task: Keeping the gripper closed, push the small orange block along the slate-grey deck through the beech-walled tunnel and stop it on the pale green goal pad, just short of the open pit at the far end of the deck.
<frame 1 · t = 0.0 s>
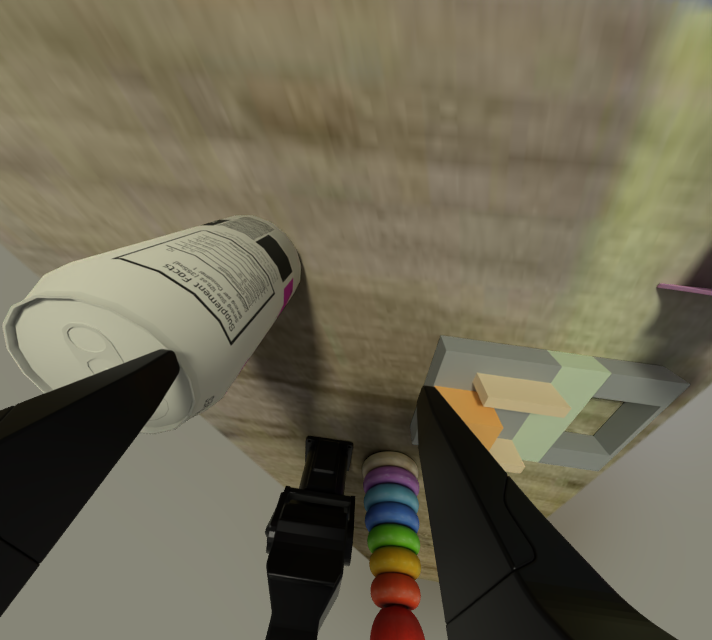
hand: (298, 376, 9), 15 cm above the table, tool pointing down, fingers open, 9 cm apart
stacking toy: (389, 463, 37), on the table
tunnel board: (520, 400, 29), on the table
supplement can: (259, 261, 23), on the table, touching gripper
block: (452, 407, 26), point 2 cm above the table, touching tunnel board
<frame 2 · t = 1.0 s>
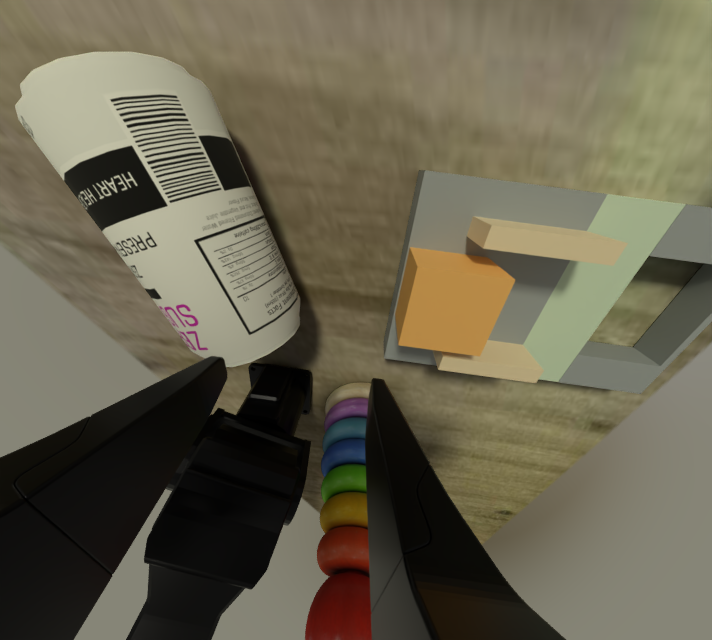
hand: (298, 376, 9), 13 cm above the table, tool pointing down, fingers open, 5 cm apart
stacking toy: (361, 403, 29), on the table
tunnel board: (535, 289, 20), on the table
supplement can: (115, 86, 12), point 4 cm above the table
block: (437, 288, 18), point 2 cm above the table, touching tunnel board
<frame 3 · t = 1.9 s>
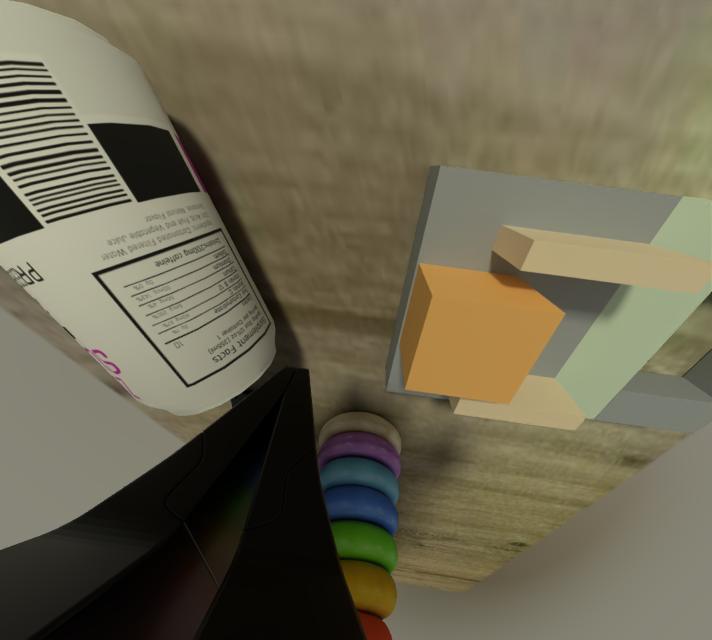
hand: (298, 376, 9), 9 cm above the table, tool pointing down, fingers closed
stacking toy: (360, 432, 25), on the table
tunnel board: (569, 310, 17), on the table
supplement can: (2, 56, 9), point 4 cm above the table
block: (452, 312, 15), point 2 cm above the table, touching tunnel board
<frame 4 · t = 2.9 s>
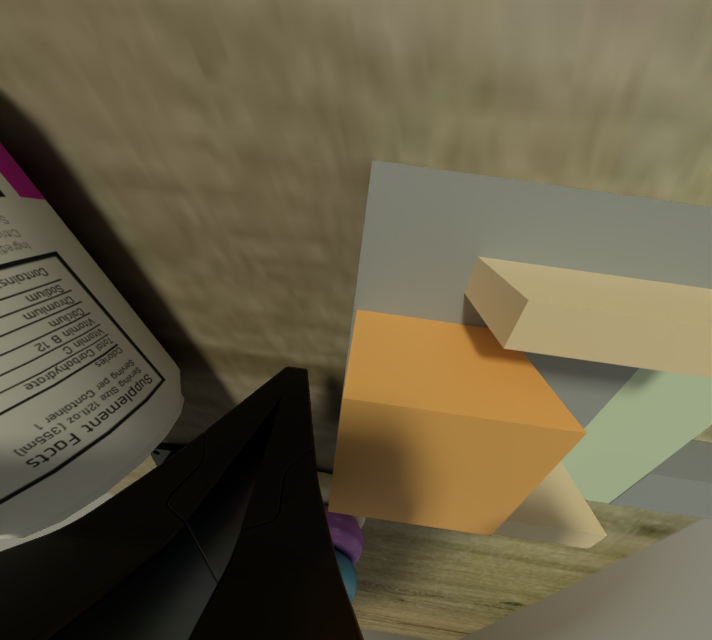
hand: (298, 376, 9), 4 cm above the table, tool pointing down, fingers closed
stacking toy: (318, 490, 21), on the table
tunnel board: (577, 363, 12), on the table
block: (413, 375, 10), point 3 cm above the table, touching gripper, tunnel board
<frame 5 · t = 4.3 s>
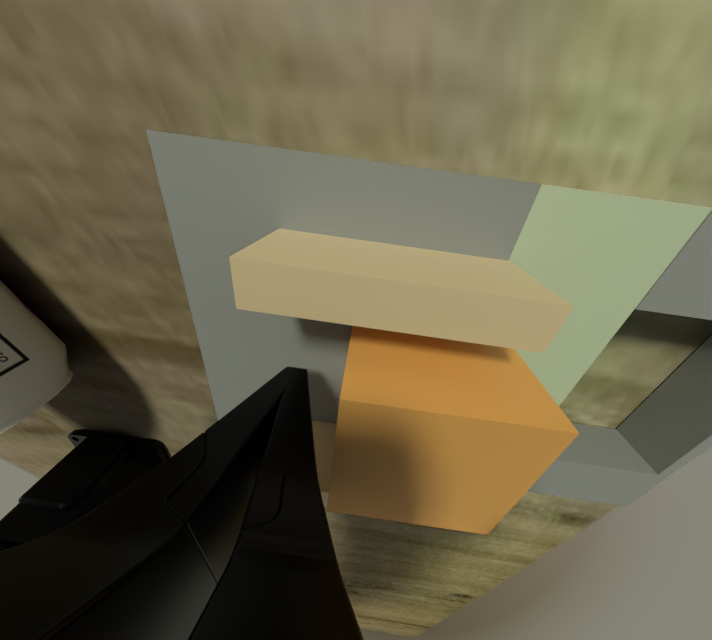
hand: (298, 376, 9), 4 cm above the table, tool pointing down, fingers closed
tunnel board: (452, 345, 12), on the table
block: (411, 376, 10), point 3 cm above the table, touching gripper
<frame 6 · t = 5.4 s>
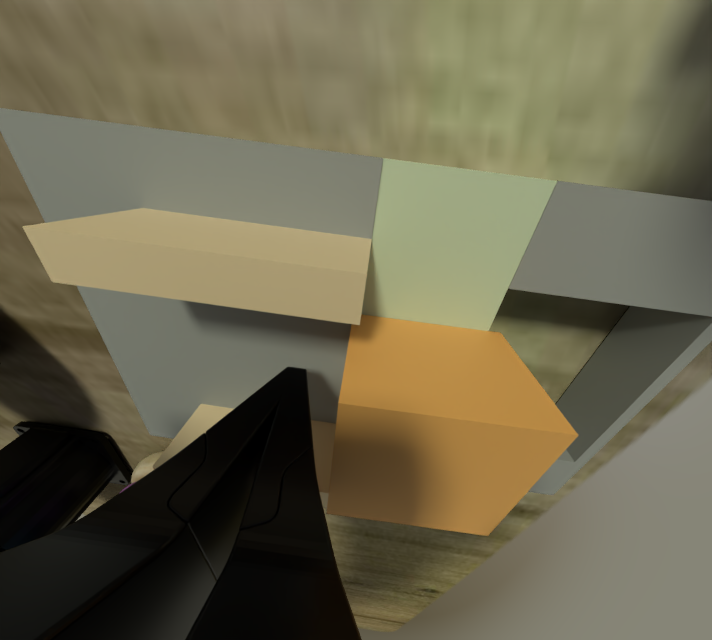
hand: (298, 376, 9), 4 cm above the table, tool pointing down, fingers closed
stacking toy: (197, 471, 21), on the table
tunnel board: (368, 332, 12), on the table
block: (410, 377, 10), point 2 cm above the table, touching gripper, tunnel board
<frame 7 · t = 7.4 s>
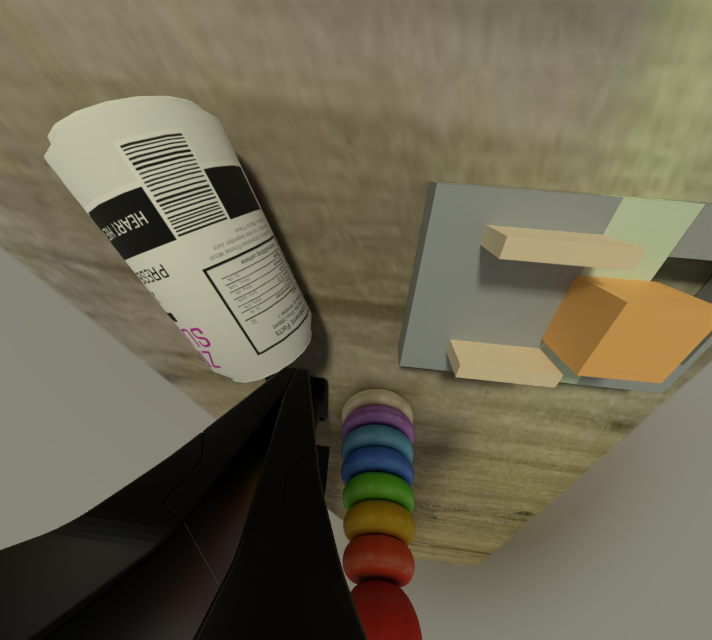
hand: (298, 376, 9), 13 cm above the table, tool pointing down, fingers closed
stacking toy: (377, 408, 29), on the table
tunnel board: (550, 292, 20), on the table
supplement can: (132, 123, 13), point 4 cm above the table
block: (594, 312, 18), point 2 cm above the table, touching tunnel board
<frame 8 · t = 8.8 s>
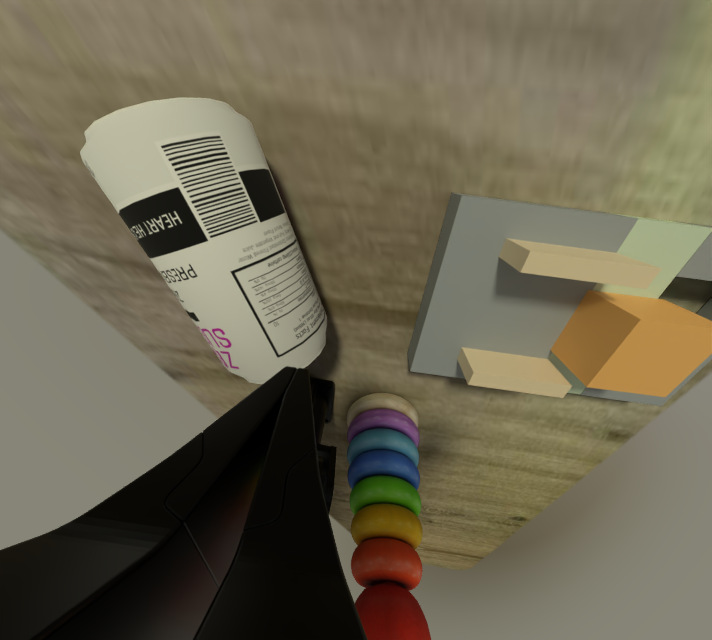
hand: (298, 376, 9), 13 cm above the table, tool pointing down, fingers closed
stacking toy: (381, 412, 29), on the table
tunnel board: (559, 304, 21), on the table
supplement can: (165, 122, 13), point 4 cm above the table
block: (603, 326, 19), point 2 cm above the table, touching tunnel board
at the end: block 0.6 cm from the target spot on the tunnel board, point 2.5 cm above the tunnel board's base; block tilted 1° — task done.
